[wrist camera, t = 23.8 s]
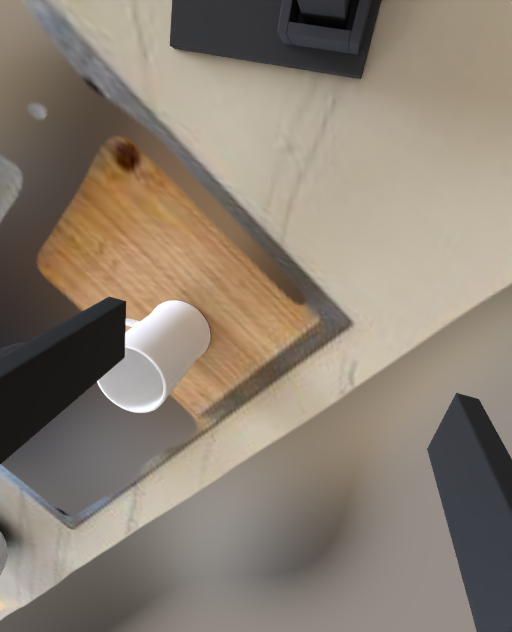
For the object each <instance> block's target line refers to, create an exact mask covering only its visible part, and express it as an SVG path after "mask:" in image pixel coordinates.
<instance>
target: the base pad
mask: <svg viewBox="0 0 512 632" xmlns="http://www.w3.org/2000/svg"><path fill="white" fill-rule="evenodd" d="M380 3H381V0H353V1H352V5H351V9H350V14H349V18H348V23H347V27H346V30H343V29H336V28H329V27H322V26H315V25H308V24H305V23H304V20H303V17H302V14H301V10H300V7H299V4H298V1H297V0H172V16H171V33H170V46H171V47H173V48H174V49H180V50H186V51H192V52H198V53H205V54H211V55H217V56H223V57H229V58H235V59H242V60H248V61H254V62H260V63H266V64H272V65H279V66H285V67H291V68H297V69H303V70H309V71H316V72H322V73H328V74H334V75H340V76H346V77H353V78H359V79H361V77H362V73H363V69H364V65H365V61H366V57H367V54H368V50H369V46H370V42H371V38H372V34H373V30H374V26H375V22H376V19H377V15H378V11H379V7H380Z"/></svg>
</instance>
